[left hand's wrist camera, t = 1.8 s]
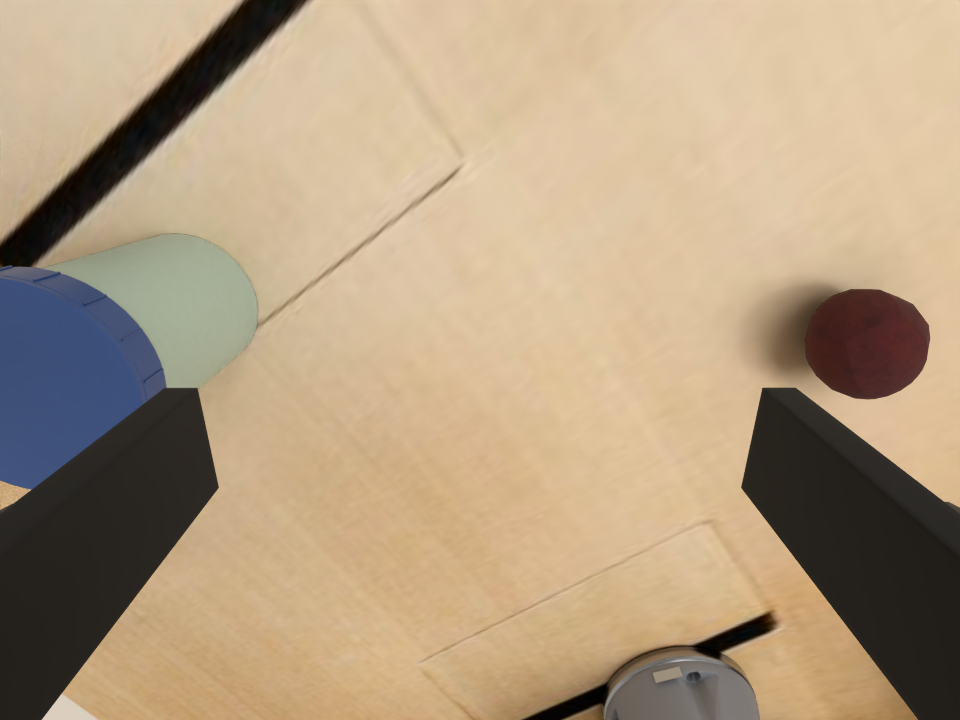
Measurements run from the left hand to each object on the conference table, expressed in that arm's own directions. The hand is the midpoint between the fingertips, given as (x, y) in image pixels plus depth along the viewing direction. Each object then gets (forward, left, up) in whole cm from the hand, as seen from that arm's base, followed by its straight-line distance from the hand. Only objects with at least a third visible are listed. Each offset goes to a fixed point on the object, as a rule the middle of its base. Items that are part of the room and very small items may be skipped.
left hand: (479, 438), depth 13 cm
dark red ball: (+6, +27, -28) cm, 39 cm away
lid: (+4, -22, -12) cm, 25 cm away
